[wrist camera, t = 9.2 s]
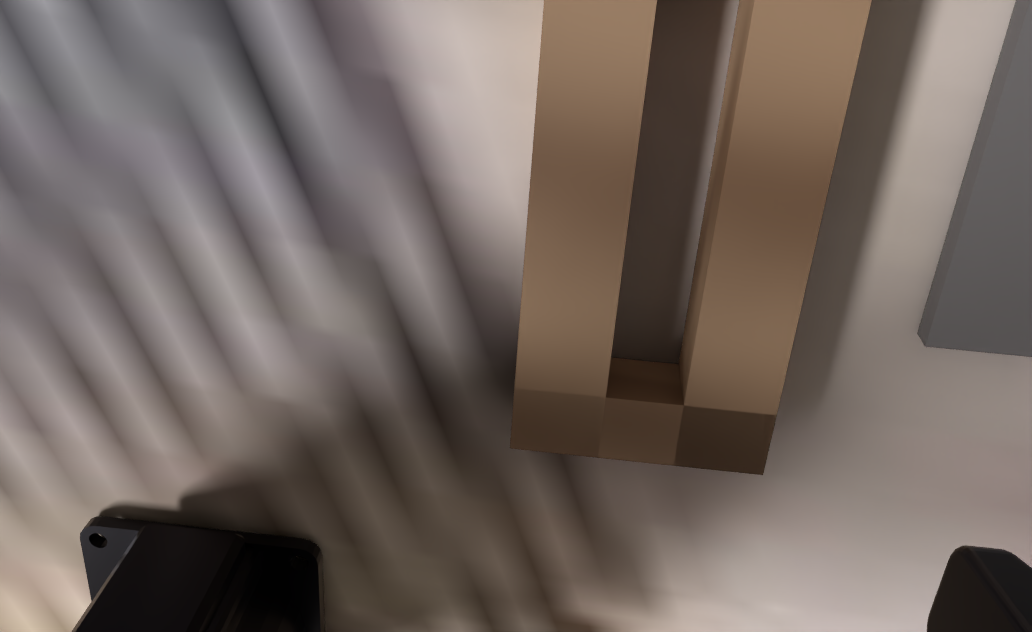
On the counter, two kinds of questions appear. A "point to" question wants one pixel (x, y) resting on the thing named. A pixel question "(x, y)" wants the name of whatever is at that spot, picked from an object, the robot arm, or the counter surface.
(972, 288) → the mat
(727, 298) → the stand
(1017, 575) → the robot arm
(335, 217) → the counter surface
